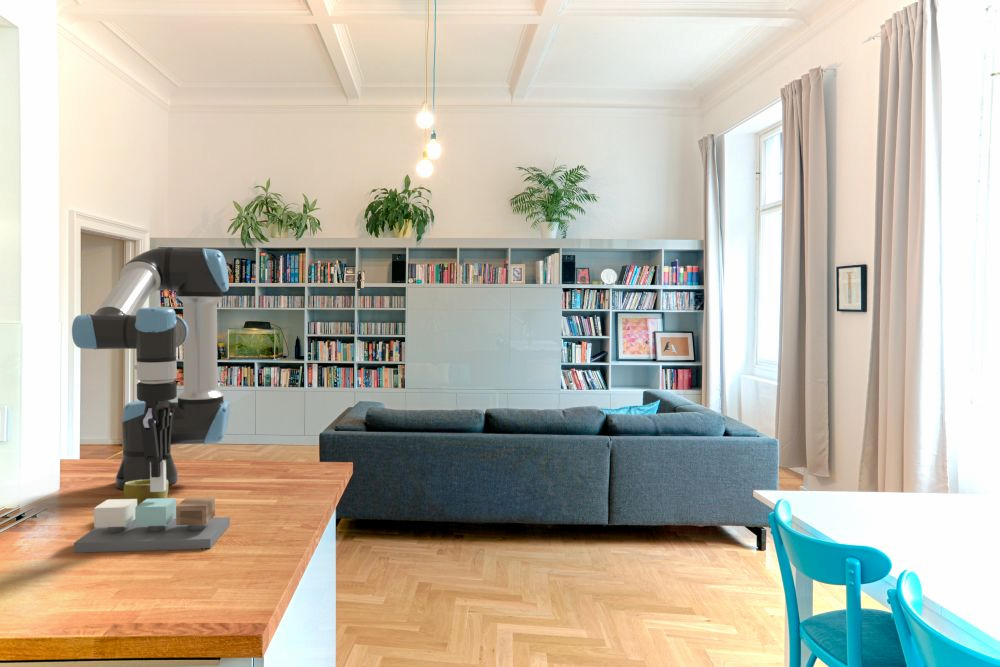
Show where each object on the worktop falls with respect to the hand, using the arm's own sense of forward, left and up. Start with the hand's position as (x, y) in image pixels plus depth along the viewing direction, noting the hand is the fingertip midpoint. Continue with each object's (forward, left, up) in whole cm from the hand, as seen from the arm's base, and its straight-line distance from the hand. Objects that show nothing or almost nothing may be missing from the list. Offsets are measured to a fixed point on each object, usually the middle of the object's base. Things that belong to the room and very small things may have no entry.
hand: (158, 490), depth 143 cm
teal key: (+1, 0, -6) cm, 6 cm away
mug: (-17, -8, -10) cm, 21 cm away
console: (+1, 0, -10) cm, 10 cm away
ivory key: (+1, -8, -6) cm, 10 cm away
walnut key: (+1, +8, -6) cm, 10 cm away
